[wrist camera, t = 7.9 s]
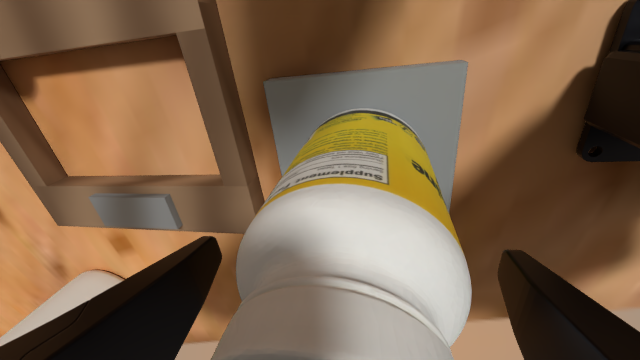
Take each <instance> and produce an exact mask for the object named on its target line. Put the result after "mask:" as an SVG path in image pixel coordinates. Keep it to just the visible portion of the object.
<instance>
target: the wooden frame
mask: <svg viewBox="0 0 640 360" xmlns="http://www.w3.org/2000/svg"><path fill="white" fill-rule="evenodd" d="M174 35H177V38H178V41H179V44H180V47H181V50H182V54H183V57H184V60H185V63H186V66H187V70H188V73H189V76H190V79H191V82H192V86H193V89H194V92H195V95H196V98H197V101H198V105H199V108H200V111H201V114H202V117H203V121H204V124H205V127H206V130H207V133H208V136H209V140H210V143H211V146H212V149H213V152H214V156H215V159H216V162H217V165H218V168H219V171H220V175H161V176H69V177H68V176H67V174H66V173H65V171H64V170H63V168H62V166H61V165H60V163H59V161H58V160H57V158H56V156H55V155H54V153H53V151H52V150H51V148H50V146H49V145H48V143H47V141H46V140H45V138H44V136H43V135H42V133H41V131H40V130H39V128H38V126H37V125H36V123H35V121H34V120H33V118H32V117H31V115H30V113H29V112H28V110H27V108H26V107H25V105H24V103H23V102H22V100H21V98H20V97H19V95H18V93H17V92H16V90H15V88H14V87H13V85H12V83H11V82H10V80H9V78H8V77H7V75H6V73H5V72H4V70H3V69H2V67H1V65H0V142H1V143H2V145H3V146H4V148H5V149H6V151H7V152H8V153H9V155H10V156H11V158H12V159H13V161H14V162H15V164H16V165H17V167H18V168H19V169H20V171H21V172H22V174H23V175H24V177H25V178H26V180H27V181H28V183H29V184H30V186H31V187H32V188H33V190H34V191H35V193H36V194H37V196H38V197H39V199H40V200H41V202H42V203H43V204H44V206H45V207H46V209H47V210H48V212H49V213H50V215H51V216H52V218H53V219H54V221H55V222H56V223H57V225H58V226H78V227H101V228H124V229H147V230H170V231H193V232H216V233H239V234H245V232H246V231H247V229H248V227H249V225H250V224H251V222H252V220H253V219H254V217H255V216H256V214H257V213H258V211H259V210H260V209H261V207H262V206H263V204H264V203H265V202H264V198H263V194H262V190H261V186H260V182H259V177H258V173H257V169H256V165H255V161H254V157H253V153H252V149H251V145H250V141H249V136H248V132H247V128H246V124H245V120H244V116H243V112H242V108H241V104H240V100H239V95H238V91H237V87H236V83H235V79H234V75H233V71H232V67H231V63H230V58H229V54H228V50H227V46H226V42H225V38H224V34H223V30H222V26H221V22H220V17H219V13H218V9H217V5H216V1H215V0H0V61H5V60H12V59H19V58H26V57H32V56H39V55H46V54H53V53H59V52H66V51H73V50H80V49H86V48H93V47H100V46H107V45H113V44H120V43H127V42H134V41H140V40H147V39H154V38H161V37H167V36H174Z"/></svg>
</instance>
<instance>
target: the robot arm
mask: <svg viewBox="0 0 640 360" xmlns="http://www.w3.org/2000/svg"><path fill="white" fill-rule="evenodd" d="M584 120H585V121H586V122H585V125H584V128H583V131H582V134H581V137H580V140H579V143H578V146H577V150H576V153H577V155H578V156H579V157H581V158H582V159H584V160H586V161H589V162H617V161H640V0H629V1H628V2H627V4H626V6H625V8H624V10H623V13H622V16H621V19H620V22H619V25H618V28H617V31H616V34H615V37H614V40H613V43H612V46H611V49H610V52H609V55H608V56H607V57H606V58H604V60H603V63H602V66H601V69H600V72H599V75H598V78H597V81H596V84H595V87H594V90H593V93H592V96H591V99H590V102H589V105H588V108H587V111H586V114H585V117H584ZM596 146H597V148H596V150H595V151H593V152H592V153H588V152H589V150H590V149H591V148H593V147H596ZM221 260H222V254H221V251H220V248H219V245H218V243H217V240H216V238H215V237H212V236H203V237H201V238H199V239H197V240H195V241H193V242H192V243H190V244H188V245H186V246H184V247H183V248H181V249H179V250H177V251H175V252H174V253H172V254H170V255H168V256H167V257H165V258H163V259H161V260H159V261H158V262H156V263H154V264H152V265H150V266H149V267H147V268H145V269H143V270H141V271H140V272H138V273H136V274H134V275H132V276H131V277H129V278H127V279H125V280H123V281H122V282H120V283H118V284H116V285H114V286H113V287H111V288H109V289H107V290H106V291H104V292H102V293H100V294H98V295H97V296H95V297H93V298H91V299H90V300H87V301H86V302H84V303H82V304H80V305H79V306H77V307H75V308H73V309H71V310H69V311H68V312H66V313H64V314H62V315H60V316H58V317H57V318H55V319H53V320H51V321H49V322H47V323H45V324H43V325H41V326H39V327H37V328H35V329H33V330H32V331H30V332H28V333H26V334H24V335H22V336H20V337H18V338H16V339H14V340H12V341H10V342H8V343H6V344H4V345H2V346H0V360H175V358H176V356H177V354H178V352H179V350H180V348H181V346H182V344H183V342H184V340H185V339H186V337H187V335H188V333H189V331H190V329H191V327H192V325H193V323H194V321H195V319H196V317H197V316H198V314H199V312H200V310H201V308H202V306H203V304H204V302H205V299H206V297H207V295H208V293H209V290H210V288H211V285H212V283H213V280H214V278H215V275H216V273H217V270H218V268H219V265H220V263H221ZM498 280H499V283H500V287H501V291H502V294H503V298H504V301H505V305H506V308H507V312H508V315H509V319H510V322H511V325H512V329H513V332H514V335H515V337H516V340H517V343H518V345H519V348H520V350H521V353H522V355H523V357H524V360H640V332H639V331H637V330H636V329H635V328H633V327H632V326H630V325H629V324H627V323H626V322H624V321H623V320H622V319H620V318H619V317H617V316H616V315H614V314H613V313H612V312H610V311H609V310H607V309H606V308H604V307H603V306H601V305H600V304H599V303H597V302H596V301H594V300H593V299H591V298H590V297H588V296H587V295H586V294H584V293H583V292H581V291H580V290H578V289H577V288H575V287H574V286H573V285H571V284H570V283H568V282H567V281H565V280H564V279H563V278H561V277H560V276H558V275H557V274H555V273H554V272H552V271H551V270H550V269H548V268H547V267H545V266H544V265H542V264H541V263H539V262H538V261H537V260H535V259H534V258H532V257H531V256H529V255H528V254H526V253H525V252H523V251H521V250H504V251H503V253H502V257H501V260H500V264H499V268H498Z"/></svg>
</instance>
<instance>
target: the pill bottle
mask: <svg viewBox="0 0 640 360" xmlns="http://www.w3.org/2000/svg"><path fill="white" fill-rule="evenodd" d="M236 279H237V286H238V291H239V294H240V298H241V300H242V302H241V304H240V306H239V307H238V310H237V312H236V313H235V314H234V315H233V317H232V319H231V321H230V323H229V324H228V326H227V328H226V330H225V332H224V333H223V335H222V338H221V340H220V342H219V344H218V346H217V348H216V350H215V352H214V354H213V356H212V358H211V360H454V358H453V356H452V354H451V350H450V347H451V345H452V344H453V343H454V342H455V341H456V339H457V338H458V336H459V335H460V333H461V332H462V329H463V328H464V326H465V324H466V321H467V318H468V315H469V311H470V306H471V296H472V289H471V279H470V274H469V270H468V266H467V262H466V259H465V256H464V253H463V250H462V247H461V245H460V242H459V239H458V237H457V234H456V231H455V229H454V226H453V224H452V221H451V218H450V216H449V213H448V211H447V207H446V204H445V201H444V199H443V196H442V193H441V190H440V188H439V185H438V182H437V179H436V176H435V174H434V171H433V168H432V166H431V163H430V160H429V157H428V155H427V152H426V150H425V147H424V145H423V143H422V141H421V139H420V137H419V136H418V135H417V133H416V132H415V131H414V130H413V129H412V128H411V126H410V125H408V124H407V123H406V122H405V121H403V120H402V119H400V118H399V117H397V116H395V115H393V114H391V113H388V112H385V111H382V110H377V109H370V108H359V109H351V110H346V111H343V112H340V113H338V114H336V115H334V116H332V117H330V118H328V119H327V120H326V121H324V122H323V123H322V124H321V125H320V126H318V127H317V129H316V130H315V131H314V132H313V133H312V135H311V136H310V137H309V139H308V140H307V142H306V143H305V144H304V145H303V147H302V148H301V150H300V151H299V153H298V154H297V156H296V157H295V159H294V160H293V162H292V163H291V164H290V166H289V167H288V169H287V171H286V172H285V173H284V175H283V176H282V178H281V179H280V181H279V182H278V183H277V185H276V187H275V188H274V190H273V191H272V193H271V194H270V196H269V197H268V198H267V200H266V201H265V203H264V204H263V206H262V207H261V209H260V210H259V211H258V213H257V214H256V216H255V217H254V219H253V220H252V222H251V224H250V225H249V227H248V229H247V231H246V232H245V234H244V236H243V239H242V241H241V243H240V246H239V250H238V254H237V261H236Z"/></svg>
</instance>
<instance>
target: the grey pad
mask: <svg viewBox="0 0 640 360" xmlns="http://www.w3.org/2000/svg"><path fill="white" fill-rule="evenodd" d="M467 67H468V62H466V61H463V60H457V61H446V62H436V63H426V64H415V65H405V66H395V67H384V68H374V69H364V70H353V71H343V72H333V73H323V74H312V75H302V76H292V77H281V78H271V79H268V80H266V81H264V82H263V84H264V89H265V94H266V99H267V104H268V109H269V114H270V119H271V124H272V129H273V134H274V139H275V144H276V149H277V154H278V159H279V164H280V169H281V174H282V176H283V175H284V173H285V172H286V171H287V169H288V167H289V166H290V164H291V163H292V162H293V160H294V159H295V157H296V156H297V154H298V153H299V151H300V150H301V148H302V147H303V145H304V144H305V143H306V142H307V140H308V139H309V137H310V136H311V135H312V133H313V132H314V131H315V130H316V129H317V127H318V126H320V125H321V124H322V123H323V122H324V121H326V120H327V119H328V118H330V117H332V116H334V115H336V114H338V113H340V112H343V111H346V110H351V109H359V108H370V109H377V110H382V111H385V112H388V113H391V114H393V115H395V116H397V117H399V118H400V119H402V120H403V121H405V122H406V123H407V124H408V125H410V126H411V128H412V129H413V130H414V131H415V132H416V133H417V135H418V136H419V137H420V139H421V141H422V143H423V145H424V147H425V150H426V152H427V155H428V157H429V160H430V163H431V166H432V168H433V171H434V174H435V176H436V179H437V182H438V185H439V188H440V190H441V193H442V196H443V199H444V201H445V204H446V207H447V211H448V213H449V211H450V203H451V195H452V187H453V179H454V171H455V163H456V155H457V147H458V139H459V131H460V123H461V115H462V107H463V99H464V91H465V83H466V75H467Z"/></svg>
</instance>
